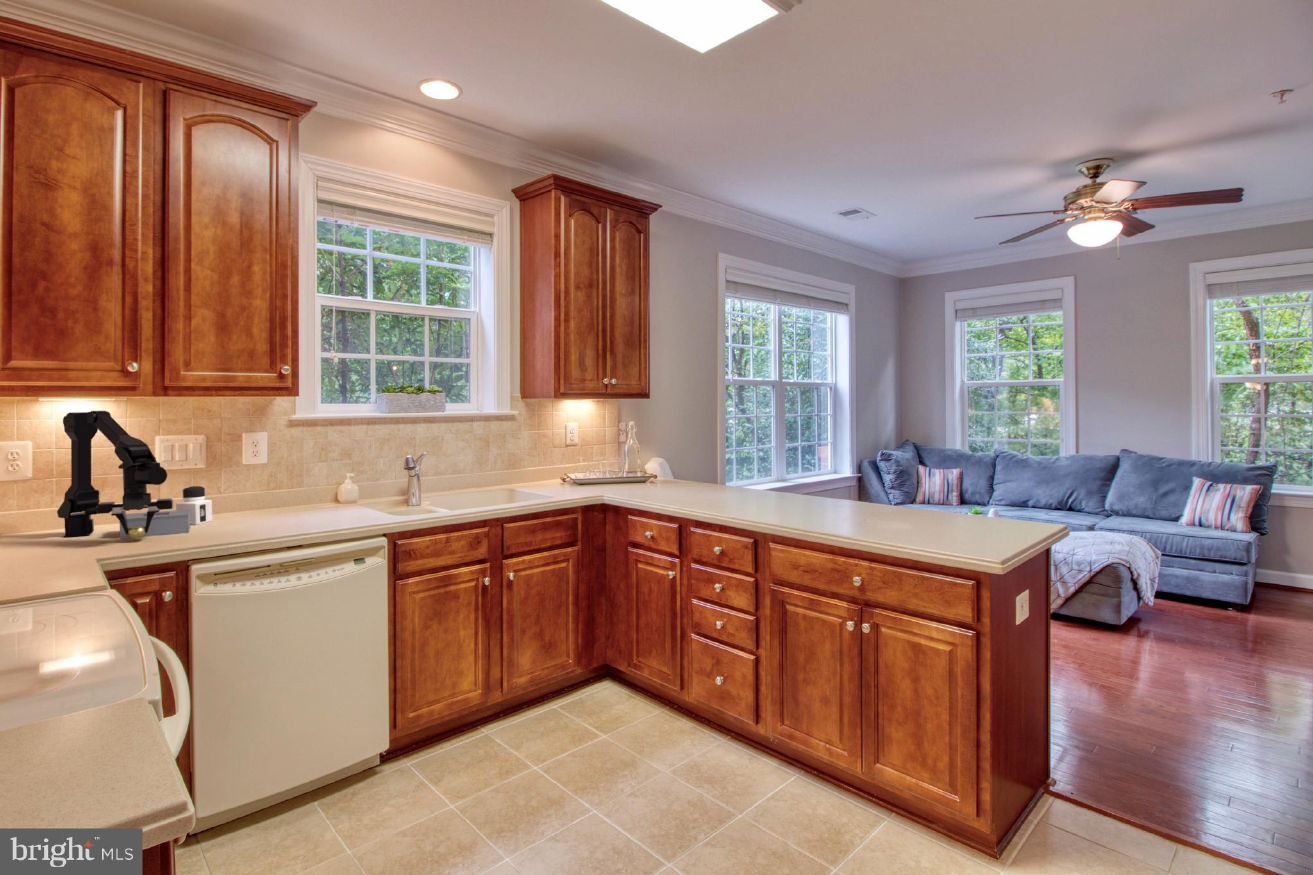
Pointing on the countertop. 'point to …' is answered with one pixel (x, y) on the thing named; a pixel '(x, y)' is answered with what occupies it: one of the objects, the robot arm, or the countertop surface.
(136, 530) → the gold short cylinder
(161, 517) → the box
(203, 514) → the container
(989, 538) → the countertop surface
